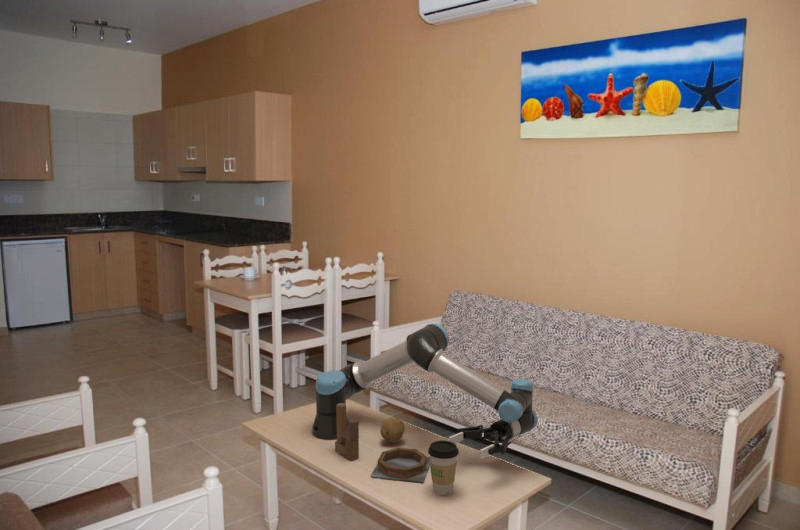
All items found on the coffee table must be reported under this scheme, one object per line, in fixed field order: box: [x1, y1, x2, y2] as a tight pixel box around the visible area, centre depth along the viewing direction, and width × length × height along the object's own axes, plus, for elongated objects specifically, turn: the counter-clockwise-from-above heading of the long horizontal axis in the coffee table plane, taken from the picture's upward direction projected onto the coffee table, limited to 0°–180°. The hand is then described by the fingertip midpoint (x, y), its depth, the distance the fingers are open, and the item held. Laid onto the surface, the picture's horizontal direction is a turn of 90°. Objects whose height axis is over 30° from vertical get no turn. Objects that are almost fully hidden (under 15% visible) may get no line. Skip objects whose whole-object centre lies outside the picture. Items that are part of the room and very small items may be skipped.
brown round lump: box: [380, 417, 406, 444], centre depth 230 cm, size 9×9×10 cm
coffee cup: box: [427, 440, 460, 496], centre depth 194 cm, size 10×10×15 cm
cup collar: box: [370, 447, 430, 484], centre depth 210 cm, size 18×18×4 cm
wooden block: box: [334, 403, 360, 461], centre depth 220 cm, size 4×11×18 cm, turn 38°
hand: (464, 447), depth 200 cm, fingers open, 13 cm apart
